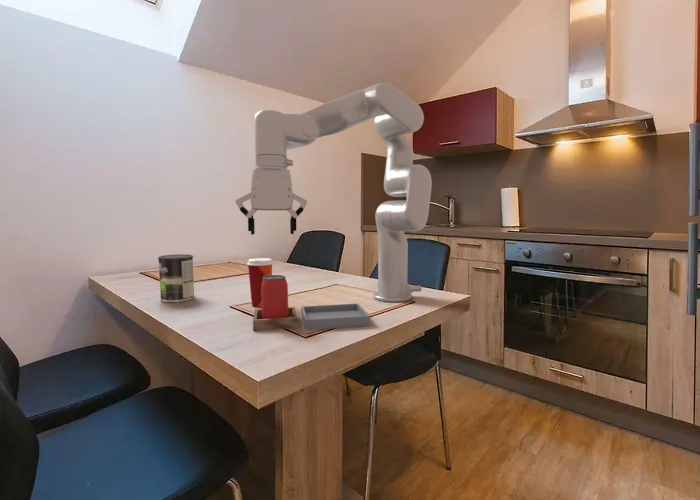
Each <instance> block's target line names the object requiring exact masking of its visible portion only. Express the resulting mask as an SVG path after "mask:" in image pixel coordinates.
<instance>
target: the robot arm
mask: <svg viewBox="0 0 700 500" xmlns="http://www.w3.org/2000/svg"><path fill="white" fill-rule="evenodd" d="M371 119H373V126H374V130H375V132H376V133H377V135H378V136H379V137H380V139H381V140H382V142H383V144H384V146H385V149H386V160H385V169H384V170H385V171H384V177H383V190H384V192H385V193H386V195H388V196H389V197H395V198H404V197H406V200H403V199H402V200H399V199H398V200H387V201H383V202H382V203H380V204H379V205H378V207H377V208H376V210H375V213H374V215H375V225H376V229H377V230H376V231H377V238H378V239H377V242H378V243H377V244H378V246H377V248H378V251H377V255H378V256H377V262H378V263H377V264H378V265H377V269H378V270H377V291H375V292H374V293H373V295H372V296H373V298H374V299H375V300H378V301H382V302H392V303H395V302H396V303H397V302H406V301H410V300H411V299H412V298H413V295H412V293H413V292H422V289H423V288H422V286H421V285H414V284H413V285H412V284H409V283H408V262H409V259H408V255H409V254H408V251H409V246H408V243H409V242H408V239H407V237H406V234H405V232H419V231H421V230H422V229H424V228H425V226H426V224H427V222H428V218H429V211H430V204H431V195H432V186H433V181H432V174H431V173H430V170H429V169H428V168H427V167H426V166H424V165H423V164H413V162H414V149H413V145H412V144H411V142H410V140H409V139H408V138H407V136H406V135H407V134H412V133H415V132H417V131H419V130H420V129H421V128H422V126H423V124H424V121H425V115H424V112H423V110H422V108H421V106H420V105H419V104H418V103H417V102H416V101H415V100H414V99H413V98H412V97H410V96H409V95H407V94H406V93H405V92H403V91H402V90H400V89H399V88H398V87H396V86H394V85H393V84H390V83H388V82H379V83H375V84H373V85H370V86H368V87H365V88H362V89H359V90H356V91H354V92H351V93H348V94H345V95H342V96H340V97H338V98H334V99H332V100H329V101H327V102H325V103H322V104H320V105H318V106H316V107H314V108H312V109H310V110H308V111H306V112H303V113H282V112H280V111H277V110H271V109H265V110H264V109H263V110H260V111H258V112H257V113H255V116H254V145H255V146H254V148H255V149H254V150H255V153H254V154H255V157H254V158H255V168H254V169H252V172H251V173H252V174H251V180H250V181H251V182H250V192H249V193H247V194H245V195H243V196H241V197H239V198H237V199H235V204H236V205H237V207H238V208H239V210H240V212H241V213H242V214H243V215H244V216H245V217H246V218H247V229H248V230H247V231H248V232H250V235H253V236H254V235H255V218H254V215H255V214H256V212H257V211H287V212H288V213H289V215H290V218H289V223H290V225H289V228H290V229H289V230H290V231H289V232H290V234H291V235H294V233H295V231H297V218H298V217H299V216H300V215H301V214H302V212H304V209H305V208H306V207H307V204H308V201H307V199H304V198H303V197H301V196H299V195H297V194H295V193H293V192H294V191H293V184H292V175H291V171H290V170H289V169H288V167H290V166H294V161H293V160H291V159H289V158H288V151H287V150H289V151H290V150H292V149H296V148H301V147H305V146H308V145H311V144H313V143H314V142H316V140H317V139H318V138H321V137H326V136H330V135H335V134H338V133H340V132H344V131H346V130H348V129H350V128H353V127H355V126H358V125H360V124H362V123H364V122H367V121H369V120H371ZM248 200H250V205H251V209H250V210H248V209H247V208H245V205H244V203H245V202H246V201H248ZM294 201H296V202H298V203H299V204H300V205H299V207H298V208H297V209H296V210H294V209H293V207H294V206H293V204H294Z"/></svg>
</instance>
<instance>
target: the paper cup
mask: <svg viewBox="0 0 700 500" xmlns="http://www.w3.org/2000/svg"><path fill="white" fill-rule="evenodd" d="M273 264H274V262H273V259H272V258H268V257H260V258H259V257H256V258H249V259H248V262H247V263H246V265H247V266H248V267H247V268H248V277H249V288H250V300H251V306H252V307H254V306H255V308H262V295H261V285H262V282H263V277H265V276H269V275H273Z"/></svg>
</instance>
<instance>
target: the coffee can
mask: <svg viewBox="0 0 700 500" xmlns="http://www.w3.org/2000/svg"><path fill="white" fill-rule="evenodd" d="M157 259H158V272H159V273H158V275H159V291H160V302H163V303H181V302H182V303H183V302H187V301H192V300H193V299H195V287H194V286H195V285H194V284H195V281H194V262H193V260H194V255H193V254H186V253H185V254H166V255H159V256H158V257H157Z"/></svg>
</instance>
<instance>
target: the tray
mask: <svg viewBox="0 0 700 500" xmlns="http://www.w3.org/2000/svg"><path fill="white" fill-rule="evenodd" d="M300 311H301V312H300V313H301V314H300V315H301V320H302V323H303V326H304V329H305V331H312V330H313V331H314V330H315V331H316V330H325V329H343V328H357V327H370V324H371V321H370V320H371V318H370V317H371V316H370V314H368V312H367V311H366V310H365V309H364V308H363V307H362V306H361V305H360V303H339V304H325V305H323V304H322V305H306V306H304V305H303V306H301V307H300Z"/></svg>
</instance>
